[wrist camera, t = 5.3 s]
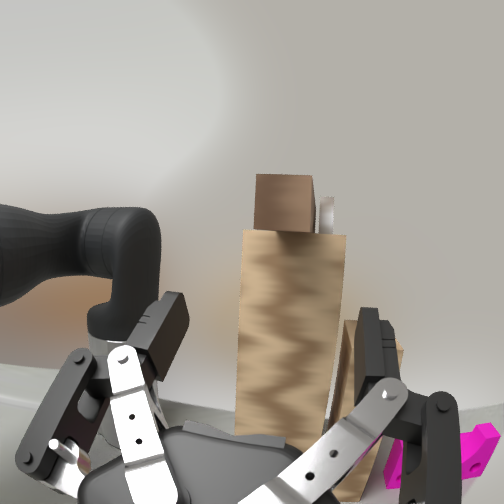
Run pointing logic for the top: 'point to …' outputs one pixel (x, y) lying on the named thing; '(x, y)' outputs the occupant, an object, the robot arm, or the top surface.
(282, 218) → the walnut bar
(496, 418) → the top surface
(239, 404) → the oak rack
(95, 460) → the top surface
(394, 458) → the toy block
